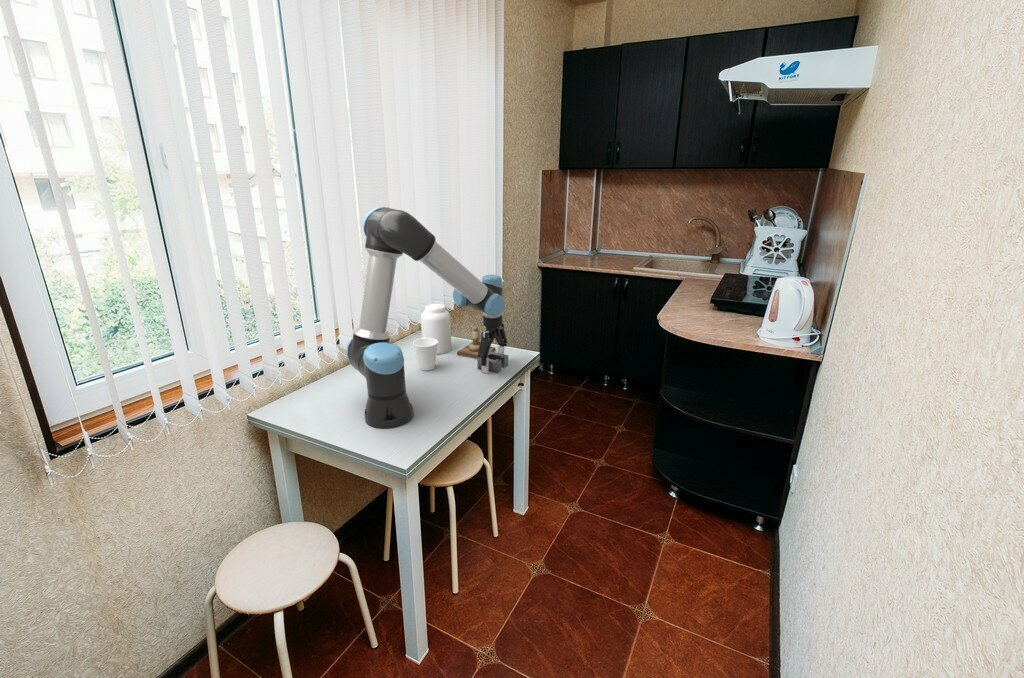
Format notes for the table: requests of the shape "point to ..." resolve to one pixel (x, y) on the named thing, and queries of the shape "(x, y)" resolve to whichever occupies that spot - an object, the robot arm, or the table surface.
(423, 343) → the cup
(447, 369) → the table surface
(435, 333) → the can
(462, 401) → the table surface
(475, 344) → the post fixture
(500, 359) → the grey split frame
